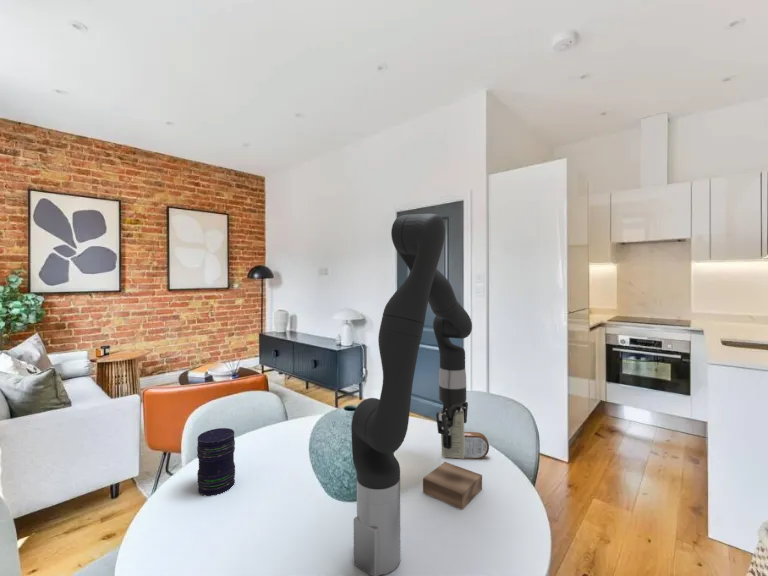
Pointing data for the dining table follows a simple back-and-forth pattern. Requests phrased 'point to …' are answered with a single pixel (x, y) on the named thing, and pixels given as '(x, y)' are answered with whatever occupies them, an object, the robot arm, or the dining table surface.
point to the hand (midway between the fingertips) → (453, 443)
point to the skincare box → (456, 438)
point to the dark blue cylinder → (216, 461)
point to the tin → (475, 445)
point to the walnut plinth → (452, 484)
